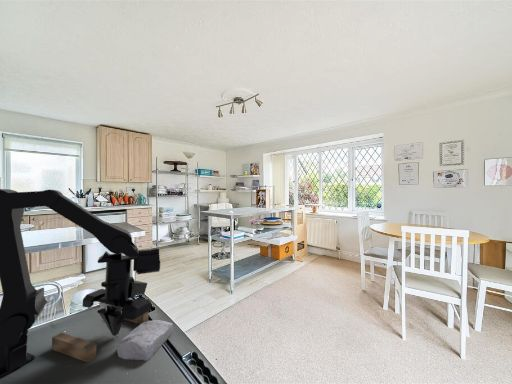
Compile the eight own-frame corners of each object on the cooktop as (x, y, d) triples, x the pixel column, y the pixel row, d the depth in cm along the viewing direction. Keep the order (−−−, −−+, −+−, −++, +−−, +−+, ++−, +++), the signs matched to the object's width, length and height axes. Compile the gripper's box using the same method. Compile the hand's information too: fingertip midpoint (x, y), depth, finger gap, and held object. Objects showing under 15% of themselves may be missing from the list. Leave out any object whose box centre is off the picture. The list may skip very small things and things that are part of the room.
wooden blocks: (51, 349, 55) (52, 335, 55) (117, 313, 72) (118, 302, 72) (87, 362, 51) (87, 347, 51) (148, 321, 68) (148, 310, 68)
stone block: (112, 366, 53) (150, 362, 51) (110, 344, 53) (147, 341, 52) (144, 336, 64) (176, 333, 63) (142, 319, 65) (174, 316, 63)
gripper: (166, 272, 65) (164, 326, 65) (119, 264, 71) (117, 313, 71) (134, 286, 54) (131, 351, 54) (82, 275, 61) (79, 333, 60)
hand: (115, 334), depth 60 cm, fingers closed
